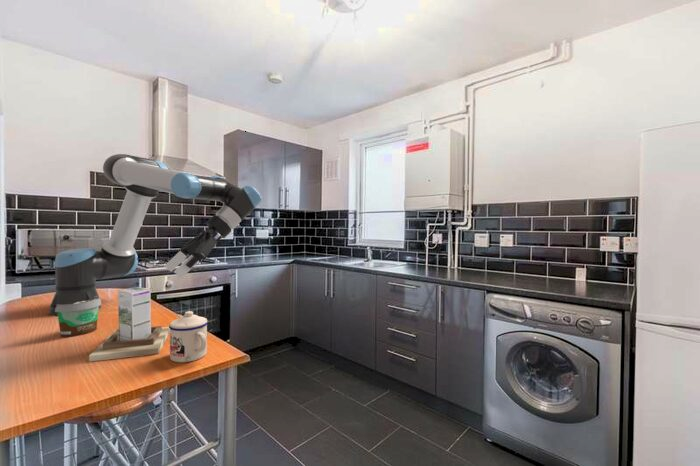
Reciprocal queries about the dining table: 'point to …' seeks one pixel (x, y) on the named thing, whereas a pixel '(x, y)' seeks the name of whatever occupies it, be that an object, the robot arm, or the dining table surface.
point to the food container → (78, 317)
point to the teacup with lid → (188, 338)
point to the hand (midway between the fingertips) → (172, 272)
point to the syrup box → (134, 313)
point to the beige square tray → (130, 345)
